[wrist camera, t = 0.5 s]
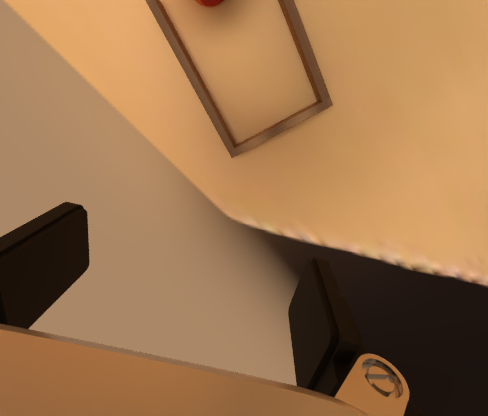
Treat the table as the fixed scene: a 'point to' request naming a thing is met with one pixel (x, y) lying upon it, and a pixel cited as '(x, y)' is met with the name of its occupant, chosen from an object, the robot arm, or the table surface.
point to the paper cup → (209, 2)
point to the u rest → (205, 98)
